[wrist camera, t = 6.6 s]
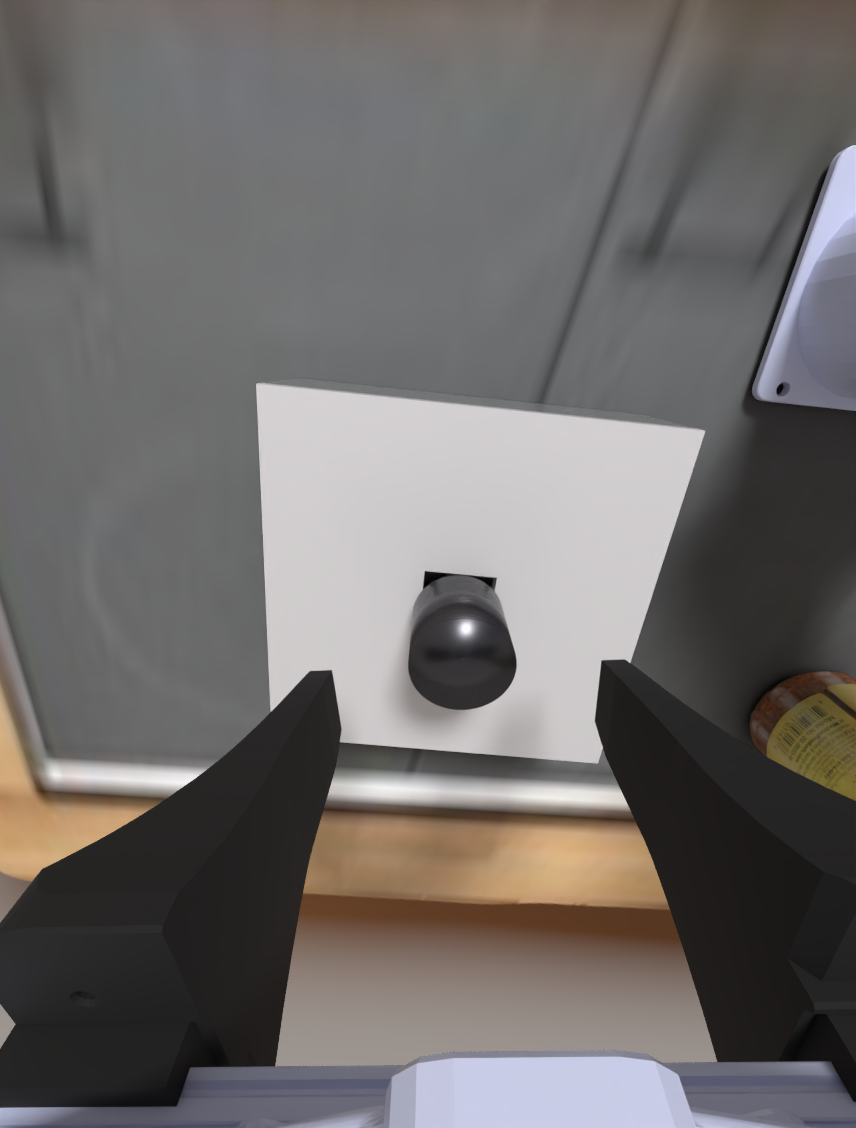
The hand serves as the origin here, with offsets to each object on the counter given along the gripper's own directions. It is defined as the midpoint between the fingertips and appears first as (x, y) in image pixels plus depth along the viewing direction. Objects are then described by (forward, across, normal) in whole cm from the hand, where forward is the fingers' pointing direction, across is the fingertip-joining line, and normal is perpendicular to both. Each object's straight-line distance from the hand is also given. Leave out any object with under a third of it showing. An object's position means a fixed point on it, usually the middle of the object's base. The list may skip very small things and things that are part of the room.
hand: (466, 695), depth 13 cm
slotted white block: (+10, 0, 0) cm, 10 cm away
